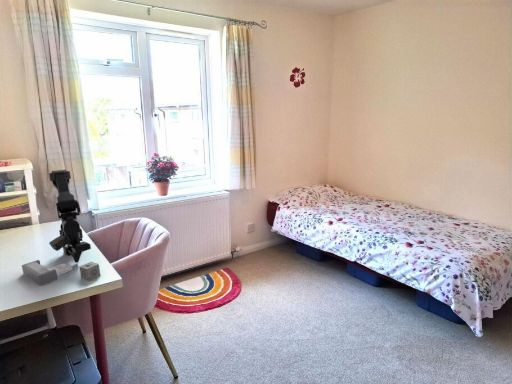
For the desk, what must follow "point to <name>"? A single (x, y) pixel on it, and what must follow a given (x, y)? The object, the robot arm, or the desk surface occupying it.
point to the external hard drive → (61, 268)
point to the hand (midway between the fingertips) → (76, 262)
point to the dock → (39, 273)
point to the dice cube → (89, 271)
